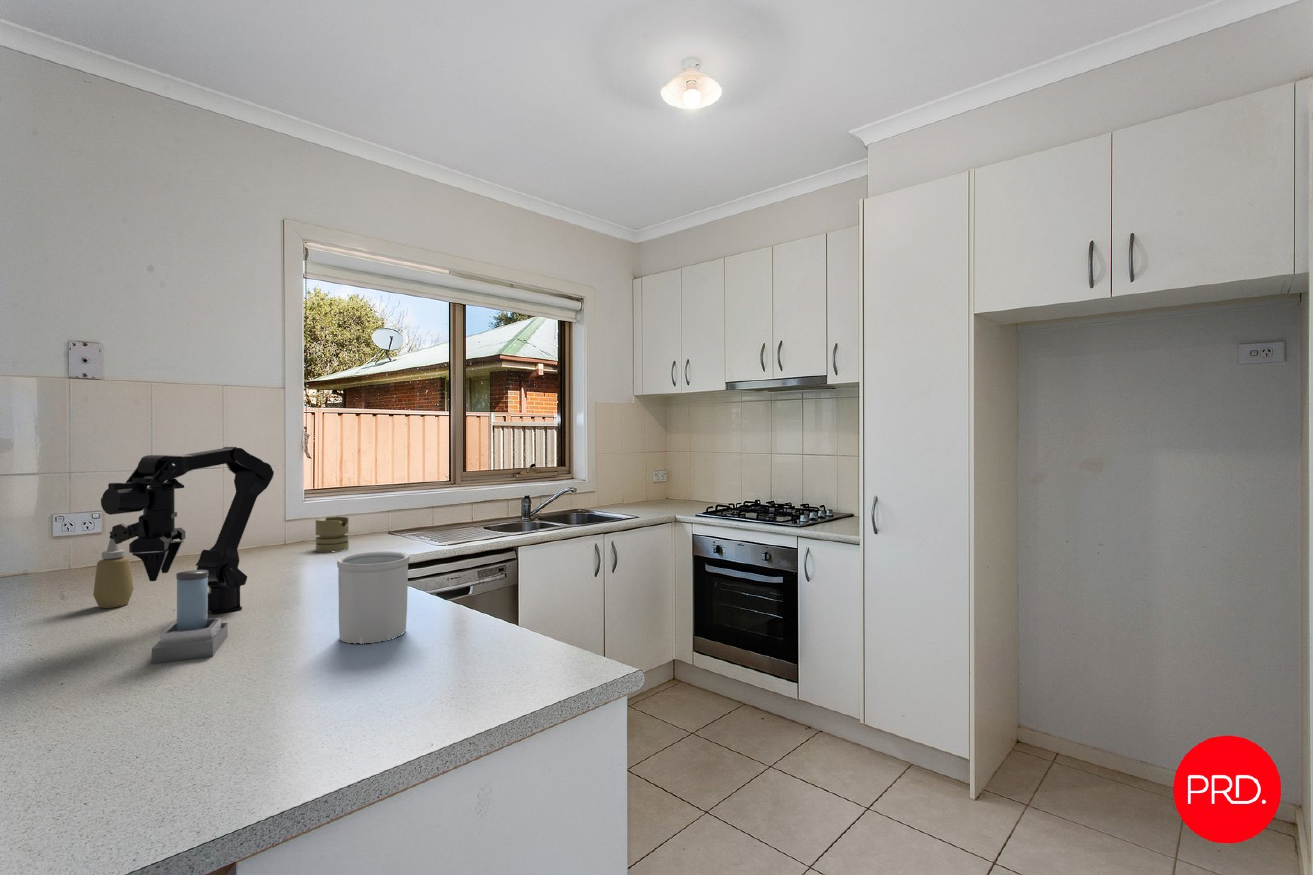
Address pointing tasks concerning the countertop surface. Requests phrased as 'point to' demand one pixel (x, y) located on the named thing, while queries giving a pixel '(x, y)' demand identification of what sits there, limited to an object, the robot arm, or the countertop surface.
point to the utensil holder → (372, 596)
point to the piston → (332, 534)
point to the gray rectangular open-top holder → (189, 642)
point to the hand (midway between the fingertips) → (159, 576)
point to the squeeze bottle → (113, 578)
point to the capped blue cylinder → (192, 600)
